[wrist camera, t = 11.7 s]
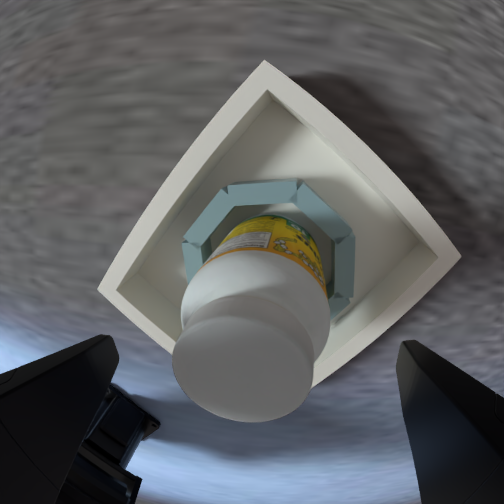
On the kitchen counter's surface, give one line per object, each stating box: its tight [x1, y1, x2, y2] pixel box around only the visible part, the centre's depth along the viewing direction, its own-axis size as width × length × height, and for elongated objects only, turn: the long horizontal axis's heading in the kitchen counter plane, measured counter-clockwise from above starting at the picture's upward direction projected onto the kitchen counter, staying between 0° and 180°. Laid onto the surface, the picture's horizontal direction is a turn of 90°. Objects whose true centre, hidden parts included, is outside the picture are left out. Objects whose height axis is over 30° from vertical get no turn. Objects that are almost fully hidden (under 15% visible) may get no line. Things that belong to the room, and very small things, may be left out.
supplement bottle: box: [172, 214, 330, 422], centre depth 12 cm, size 5×5×10 cm
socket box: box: [97, 60, 462, 388], centre depth 16 cm, size 15×13×4 cm
